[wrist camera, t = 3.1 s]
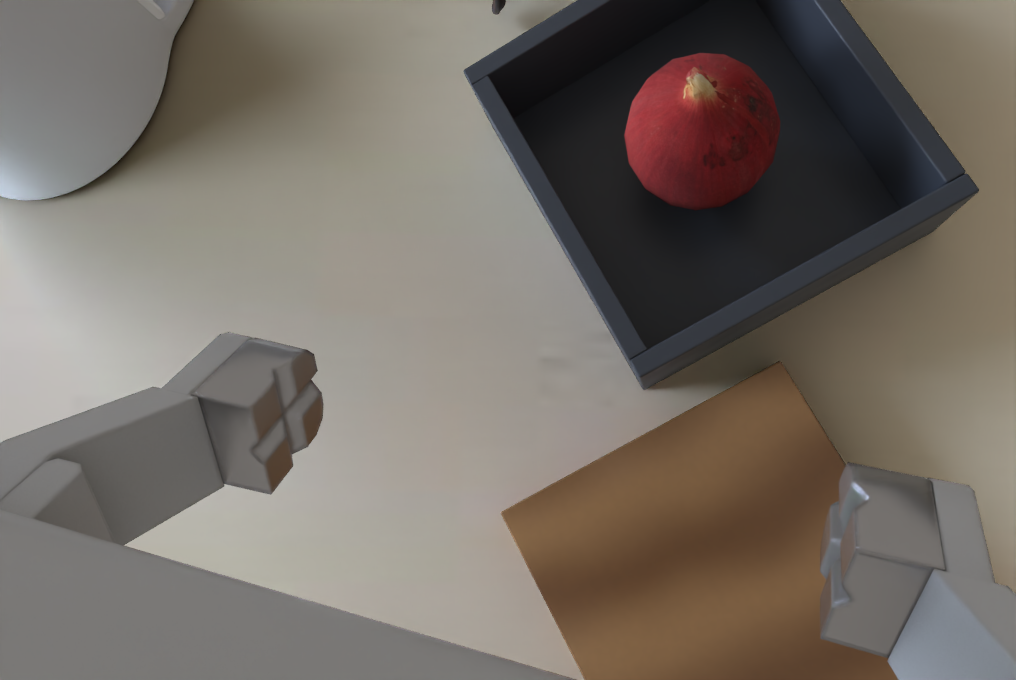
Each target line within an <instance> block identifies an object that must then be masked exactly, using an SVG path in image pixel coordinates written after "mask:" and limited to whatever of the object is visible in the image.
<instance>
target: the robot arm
mask: <svg viewBox="0 0 1016 680" xmlns="http://www.w3.org/2000/svg"><path fill="white" fill-rule="evenodd" d="M193 1H194V0H0V196H1V197H5V198H9V199H15V200H42V199H48V198H53V197H56V196H60V195H63V194H66V193H69V192H71V191H74V190H76V189H78V188H80V187H82V186H84V185H86V184H88V183H90V182H91V181H93V180H95V179H96V178H98V177H99V176H101V175H102V174H103V173H105V172H106V171H107V170H108V169H110V168H111V167H112V166H113V165H114V164H115V163H117V162H118V161H119V160H120V159H121V158H122V157H123V156H124V155H125V154H126V152H127V151H128V150H129V149H130V148H131V147H132V146H133V144H134V143H135V142H136V140H137V139H138V138H139V136H140V135H141V133H142V132H143V130H144V129H145V127H146V126H147V124H148V122H149V120H150V119H151V117H152V115H153V113H154V111H155V108H156V106H157V104H158V101H159V99H160V96H161V93H162V90H163V87H164V83H165V79H166V75H167V69H168V63H169V57H170V51H171V47H172V43H173V40H174V37H175V35H176V33H177V31H178V30H179V28H180V26H181V24H182V23H183V21H184V19H185V17H186V16H187V14H188V12H189V10H190V8H191V6H192V4H193ZM317 371H318V370H317V366H316V361H315V357H314V354H313V353H311V352H310V351H308V350H306V349H302V348H297V347H293V346H289V345H285V344H280V343H276V342H272V341H268V340H263V339H259V338H252V337H248V336H244V335H239V334H235V333H231V332H228V333H224V334H220V335H219V336H218V337H217V338H215V339H214V340H213V341H212V342H211V343H210V344H209V345H208V346H207V347H206V348H205V349H204V350H202V351H201V352H200V353H199V354H198V355H197V356H196V357H195V358H194V359H193V360H192V361H191V362H189V363H188V364H187V365H186V366H185V367H184V368H183V369H182V370H181V371H180V372H179V373H178V374H176V375H175V376H174V377H173V378H172V379H171V380H170V381H169V382H168V383H167V384H166V385H165V386H163V387H162V388H157V387H151V388H148V389H146V390H143V391H140V392H137V393H135V394H132V395H129V396H126V397H123V398H121V399H118V400H115V401H112V402H110V403H107V404H104V405H101V406H99V407H96V408H93V409H90V410H88V411H85V412H82V413H79V414H77V415H74V416H71V417H68V418H66V419H63V420H60V421H57V422H54V423H52V424H49V425H46V426H43V427H41V428H38V429H35V430H32V431H30V432H27V433H24V434H21V435H19V436H16V437H13V438H10V439H8V440H5V441H3V442H2V443H1V444H0V680H576V679H572V678H569V677H566V676H562V675H559V674H555V673H552V672H549V671H545V670H542V669H538V668H535V667H532V666H528V665H525V664H522V663H518V662H515V661H511V660H508V659H505V658H501V657H498V656H495V655H491V654H488V653H484V652H481V651H478V650H474V649H471V648H468V647H464V646H461V645H457V644H454V643H451V642H447V641H444V640H441V639H437V638H434V637H431V636H427V635H424V634H420V633H417V632H414V631H410V630H407V629H404V628H400V627H397V626H393V625H390V624H387V623H383V622H380V621H377V620H373V619H370V618H367V617H363V616H360V615H356V614H353V613H350V612H346V611H343V610H340V609H336V608H333V607H329V606H326V605H323V604H319V603H316V602H313V601H309V600H306V599H302V598H299V597H296V596H292V595H289V594H286V593H282V592H279V591H275V590H272V589H269V588H265V587H262V586H259V585H255V584H252V583H248V582H245V581H242V580H238V579H235V578H232V577H228V576H225V575H221V574H218V573H215V572H211V571H208V570H205V569H201V568H198V567H194V566H191V565H188V564H184V563H181V562H178V561H174V560H171V559H167V558H164V557H161V556H157V555H154V554H151V553H147V552H144V551H140V550H137V549H134V548H130V547H127V546H124V545H125V544H127V543H128V542H130V541H132V540H134V539H135V538H137V537H139V536H140V535H142V534H144V533H145V532H147V531H149V530H151V529H152V528H154V527H156V526H157V525H159V524H161V523H163V522H164V521H166V520H168V519H169V518H171V517H173V516H174V515H176V514H178V513H180V512H181V511H183V510H185V509H186V508H188V507H190V506H192V505H193V504H195V503H197V502H198V501H200V500H202V499H204V498H205V497H207V496H209V495H210V494H212V493H214V492H215V491H217V490H219V489H221V488H222V487H224V484H227V485H232V486H236V487H240V488H245V489H249V490H253V491H258V492H262V493H266V494H272V493H273V491H274V490H275V489H276V488H277V486H278V485H279V484H280V482H281V481H282V480H283V478H284V477H285V476H286V475H287V473H288V472H289V471H290V469H291V468H292V467H293V460H292V454H294V453H296V452H298V451H300V450H302V449H304V448H306V447H308V446H309V444H310V443H311V441H312V440H313V439H314V437H315V436H316V435H317V432H318V429H319V426H320V423H321V421H322V417H323V399H322V392H321V391H320V390H319V389H318V387H317V386H316V385H315V384H314V383H313V381H312V380H311V379H312V378H313V376H314V375H315V374H316V372H317ZM820 572H821V573H822V575H823V576H824V577H825V579H826V582H825V585H824V587H823V590H822V593H821V596H820V639H823V640H826V641H830V642H833V643H837V644H840V645H844V646H847V647H851V648H854V649H858V650H861V651H865V652H868V653H871V654H875V655H878V656H882V657H885V658H889V659H888V661H887V662H888V663H889V665H890V667H891V668H892V670H893V671H894V673H895V675H896V676H897V678H898V680H1016V594H1015V593H1014V592H1013V591H1012V590H1011V589H1010V588H1009V587H1008V586H1005V585H1000V584H996V583H995V579H994V575H993V571H992V566H991V562H990V557H989V553H988V549H987V544H986V540H985V536H984V531H983V527H982V522H981V518H980V514H979V509H978V505H977V501H976V496H975V492H974V490H973V489H972V488H971V487H970V486H969V485H965V484H960V483H954V482H949V481H944V480H939V479H933V478H927V479H926V478H924V477H920V476H915V475H910V474H905V473H900V472H895V471H890V470H885V469H880V468H875V467H870V466H865V465H860V464H855V463H850V462H848V463H847V465H846V466H845V468H844V469H843V472H842V475H841V478H840V480H839V501H837V502H836V503H834V504H832V505H830V508H829V512H828V515H827V518H826V521H825V525H824V530H823V535H822V540H821V549H820Z"/></svg>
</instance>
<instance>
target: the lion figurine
mask: <svg viewBox="0 0 1016 680" xmlns="http://www.w3.org/2000/svg"><path fill="white" fill-rule="evenodd" d="M505 2H506V0H493V4H492V11H493V13H494V14H496V15H497V14H499V12H500V11H501V10H502V8H503V7H504V6H505Z"/></svg>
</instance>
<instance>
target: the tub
mask: <svg viewBox="0 0 1016 680" xmlns="http://www.w3.org/2000/svg"><path fill="white" fill-rule="evenodd" d="M697 53H710V54H725V55H727V56H729V57H731V58H733V59H735V60H737V61H739V62H742V63H744V64H746V65H747V66H749V67H751V69H752V70H753V71H754V72H755V73H756V74H757V75H758V76H759V78H760V79H761V80H762V81H763V82H764V83H765V84H766V85H767V87H768V88H769V89H770V91H771V92H772V95H773V98H774V102H775V105H776V108H777V112H778V115H779V118H780V133H779V138H778V142H777V147H776V151H775V155H774V160H773V163H772V164H771V165H770V167H769V168H768V169H767V170H766V172H765V173H764V174H763V175H762V176H761V178H760V179H759V180H758V181H757V182H756V183H755V185H754V186H753V187H752V188H751V189H750V191H749V192H748V193H746V194H744V195H742V196H741V197H739V198H737V199H735V200H733V201H731V202H730V203H728V204H726V205H724V206H722V207H715V208H708V209H701V210H691V209H686V208H681V207H676V206H671V205H669V204H667V203H666V202H664V201H663V200H661V199H660V198H658V197H656V196H655V195H653V194H652V193H650V192H649V191H647V190H646V189H645V188H644V186H643V185H642V183H641V181H640V180H639V178H638V177H637V175H636V174H635V172H634V170H633V169H632V167H631V166H630V164H629V161H628V155H627V149H626V143H625V136H624V134H625V130H626V125H627V121H628V117H629V112H630V108H631V104H632V101H633V100H634V98H635V97H636V95H637V94H638V92H639V91H640V89H641V88H642V86H643V85H644V83H645V82H646V80H647V79H648V78H649V77H650V76H651V75H652V74H654V73H655V72H656V71H658V70H659V69H660V68H662V67H663V66H664V65H666V64H667V63H668V62H670V61H671V60H672V59H676V58H681V57H685V56H689V55H693V54H697ZM464 74H465V76H466V78H467V80H468V82H469V83H470V85H471V87H472V89H473V91H474V93H475V95H476V97H477V99H478V100H479V102H480V104H481V106H482V108H483V110H484V112H485V114H486V116H487V118H488V120H489V121H490V123H491V125H492V127H493V128H494V130H495V132H496V134H497V135H498V137H499V139H500V141H501V142H502V144H503V146H504V148H505V149H506V151H507V153H508V155H509V156H510V158H511V160H512V162H513V163H514V165H515V167H516V169H517V170H518V172H519V174H520V176H521V177H522V179H523V181H524V183H525V184H526V186H527V188H528V190H529V191H530V193H531V195H532V196H533V198H534V200H535V202H536V203H537V205H538V207H539V209H540V210H541V212H542V214H543V216H544V217H545V219H546V221H547V223H548V224H549V226H550V228H551V230H552V231H553V233H554V235H555V237H556V238H557V240H558V242H559V244H560V245H561V247H562V249H563V251H564V252H565V254H566V256H567V258H568V259H569V261H570V263H571V265H572V266H573V268H574V270H575V272H576V273H577V275H578V277H579V279H580V280H581V282H582V284H583V286H584V287H585V289H586V291H587V292H588V294H589V296H590V298H591V299H592V301H593V303H594V305H595V306H596V308H597V310H598V312H599V313H600V315H601V317H602V319H603V320H604V322H605V324H606V326H607V327H608V329H609V331H610V333H611V334H612V336H613V338H614V340H615V341H616V343H617V345H618V347H619V348H620V350H621V352H622V354H623V355H624V357H625V359H626V361H627V362H628V364H629V366H630V368H631V369H632V371H633V373H634V375H635V376H636V378H637V380H638V382H639V383H640V385H641V387H642V388H643V390H645V389H647V388H649V387H651V386H652V385H654V384H656V383H658V382H660V381H662V380H663V379H665V378H667V377H669V376H671V375H672V374H674V373H676V372H678V371H680V370H682V369H683V368H685V367H687V366H689V365H691V364H693V363H694V362H696V361H698V360H700V359H702V358H703V357H705V356H707V355H709V354H711V353H713V352H714V351H716V350H718V349H720V348H722V347H723V346H725V345H727V344H729V343H731V342H733V341H734V340H736V339H738V338H740V337H742V336H744V335H745V334H747V333H749V332H751V331H753V330H754V329H756V328H758V327H760V326H762V325H764V324H765V323H767V322H769V321H771V320H773V319H774V318H776V317H778V316H780V315H782V314H784V313H785V312H787V311H789V310H791V309H793V308H795V307H796V306H798V305H800V304H802V303H804V302H805V301H807V300H809V299H811V298H813V297H815V296H816V295H818V294H820V293H822V292H824V291H825V290H827V289H829V288H831V287H833V286H835V285H836V284H838V283H840V282H842V281H844V280H846V279H847V278H849V277H851V276H853V275H855V274H856V273H858V272H860V271H862V270H864V269H866V268H867V267H869V266H871V265H873V264H875V263H876V262H878V261H880V260H882V259H884V258H886V257H887V256H889V255H891V254H893V253H895V252H897V251H898V250H900V249H902V248H904V247H906V246H907V245H909V244H911V243H913V242H915V241H917V240H918V239H920V238H922V237H924V236H926V235H927V234H929V233H931V232H933V231H934V230H935V229H937V227H939V226H940V225H941V224H942V223H943V222H944V221H945V220H947V219H948V218H949V217H950V216H951V215H952V214H953V213H955V212H956V211H957V210H958V209H959V208H960V207H961V206H963V205H964V204H965V203H966V202H967V201H968V200H969V199H971V198H972V197H973V196H974V195H975V194H976V193H978V191H979V189H978V187H977V186H976V185H975V183H974V182H973V180H972V179H971V178H970V176H969V175H968V174H965V170H964V168H963V167H962V166H961V164H960V163H959V161H958V160H957V159H956V157H955V156H954V155H953V153H952V152H951V151H950V149H949V148H948V146H947V145H946V144H945V142H944V141H943V140H942V138H941V137H940V136H939V134H938V133H937V131H936V130H935V129H934V127H933V126H932V125H931V123H930V122H929V121H928V119H927V118H926V117H925V115H924V114H923V112H922V111H921V110H920V108H919V107H918V106H917V104H916V103H915V102H914V100H913V99H912V97H911V96H910V95H909V93H908V92H907V91H906V89H905V88H904V87H903V85H902V84H901V82H900V81H899V80H898V78H897V77H896V76H895V74H894V73H893V72H892V70H891V69H890V67H889V66H888V65H887V63H886V62H885V61H884V59H883V58H882V57H881V55H880V54H879V53H878V51H877V50H876V48H875V47H874V46H873V44H872V43H871V42H870V40H869V39H868V38H867V36H866V35H865V33H864V32H863V31H862V29H861V28H860V27H859V25H858V24H857V23H856V21H855V20H854V18H853V17H852V16H851V14H850V13H849V12H848V10H847V9H846V8H845V6H844V5H843V3H842V2H841V1H840V0H577V1H576V2H574V3H572V4H571V5H569V6H568V7H566V8H564V9H563V10H561V11H559V12H558V13H556V14H554V15H553V16H551V17H550V18H548V19H546V20H545V21H543V22H541V23H540V24H538V25H536V26H535V27H533V28H532V29H530V30H528V31H527V32H525V33H523V34H522V35H520V36H519V37H517V38H515V39H514V40H512V41H510V42H509V43H507V44H505V45H504V46H502V47H501V48H499V49H497V50H496V51H494V52H492V53H491V54H489V55H487V56H486V57H484V58H483V59H481V60H479V61H478V62H476V63H474V64H473V65H471V66H470V67H468V68H466V69H465V70H464Z"/></svg>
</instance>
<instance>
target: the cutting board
mask: <svg viewBox="0 0 1016 680" xmlns="http://www.w3.org/2000/svg"><path fill="white" fill-rule="evenodd" d="M845 466H846V465H845V463H844V461H843V460H842V458H841V457H840V455H839V453H838V452H837V450H836V449H835V447H834V445H833V444H832V442H831V441H830V439H829V437H828V436H827V434H826V433H825V431H824V429H823V428H822V426H821V425H820V423H819V421H818V420H817V418H816V417H815V415H814V413H813V412H812V410H811V409H810V407H809V405H808V404H807V402H806V401H805V399H804V397H803V396H802V394H801V393H800V391H799V389H798V388H797V386H796V385H795V383H794V381H793V380H792V378H791V377H790V375H789V373H788V372H787V370H786V369H785V367H784V365H783V364H782V362H781V361H778V362H776V363H774V364H773V365H771V366H769V367H767V368H765V369H763V370H762V371H760V372H758V373H756V374H754V375H752V376H751V377H749V378H747V379H745V380H743V381H741V382H739V383H738V384H736V385H734V386H732V387H730V388H728V389H727V390H725V391H723V392H721V393H719V394H717V395H716V396H714V397H712V398H710V399H708V400H706V401H704V402H703V403H701V404H699V405H697V406H695V407H693V408H692V409H690V410H688V411H686V412H684V413H682V414H680V415H679V416H677V417H675V418H673V419H671V420H669V421H668V422H666V423H664V424H662V425H660V426H658V427H657V428H655V429H653V430H651V431H649V432H647V433H645V434H644V435H642V436H640V437H638V438H636V439H634V440H633V441H631V442H629V443H627V444H625V445H623V446H622V447H620V448H618V449H616V450H614V451H612V452H610V453H609V454H607V455H605V456H603V457H601V458H599V459H598V460H596V461H594V462H592V463H590V464H588V465H587V466H585V467H583V468H581V469H579V470H577V471H575V472H574V473H572V474H570V475H568V476H566V477H564V478H563V479H561V480H559V481H557V482H555V483H553V484H551V485H550V486H548V487H546V488H544V489H542V490H540V491H539V492H537V493H535V494H533V495H531V496H529V497H528V498H526V499H524V500H522V501H520V502H518V503H516V504H515V505H513V506H511V507H509V508H507V509H505V510H504V511H502V512H501V515H502V517H503V519H504V521H505V523H506V525H507V527H508V529H509V531H510V533H511V535H512V537H513V539H514V541H515V542H516V544H517V546H518V548H519V550H520V552H521V554H522V556H523V558H524V560H525V562H526V564H527V566H528V568H529V570H530V572H531V574H532V576H533V578H534V580H535V582H536V584H537V586H538V588H539V590H540V592H541V594H542V596H543V598H544V600H545V602H546V604H547V606H548V608H549V610H550V612H551V614H552V616H553V618H554V620H555V622H556V624H557V626H558V628H559V630H560V632H561V634H562V636H563V638H564V640H565V642H566V644H567V646H568V648H569V650H570V652H571V654H572V655H573V657H574V659H575V661H576V663H577V665H578V667H579V669H580V671H581V673H582V675H583V677H584V679H585V680H898V678H897V676H896V675H895V673H894V671H893V670H892V668H891V667H890V665H889V663H888V662H887V661H888V659H889V658H885V657H882V656H878V655H875V654H871V653H868V652H865V651H861V650H858V649H854V648H851V647H847V646H844V645H840V644H837V643H833V642H830V641H826V640H823V639H820V596H821V593H822V590H823V587H824V585H825V582H826V579H825V577H824V576H823V575H822V573H821V572H820V549H821V540H822V535H823V530H824V525H825V521H826V518H827V515H828V512H829V508H830V505H832V504H834V503H836V502H837V501H839V480H840V478H841V475H842V472H843V469H844V468H845Z"/></svg>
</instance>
